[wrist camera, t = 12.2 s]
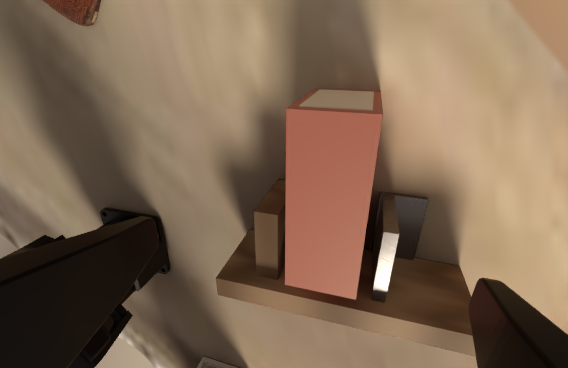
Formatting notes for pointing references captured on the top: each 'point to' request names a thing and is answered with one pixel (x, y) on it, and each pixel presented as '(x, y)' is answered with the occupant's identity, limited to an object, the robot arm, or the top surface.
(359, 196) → the block
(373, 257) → the bookend
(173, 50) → the top surface
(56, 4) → the wooden tablet
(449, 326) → the wooden display stand
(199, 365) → the coffee box
